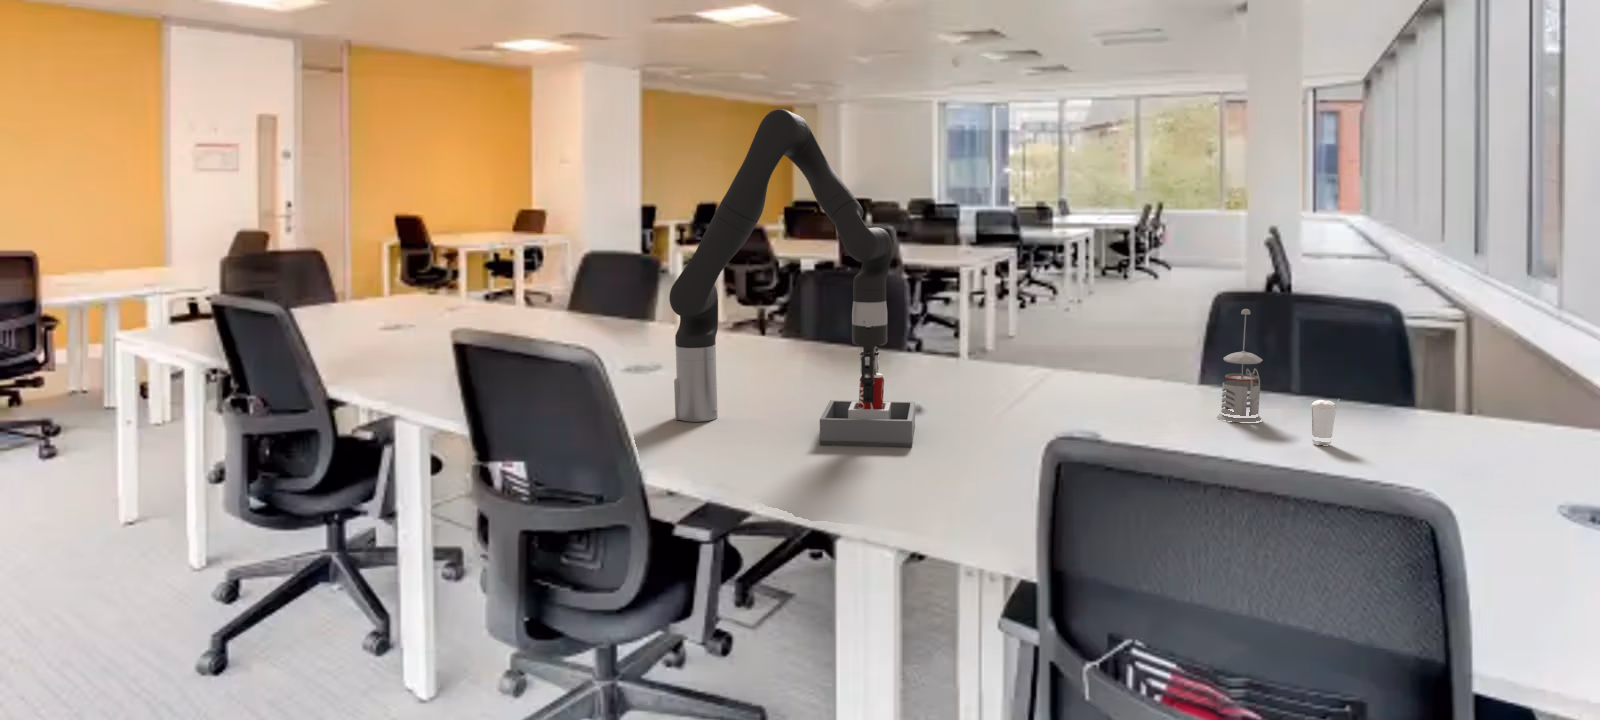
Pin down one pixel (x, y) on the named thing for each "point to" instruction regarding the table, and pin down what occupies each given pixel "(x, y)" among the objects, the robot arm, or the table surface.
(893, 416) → the box
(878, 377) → the soda can
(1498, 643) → the table surface
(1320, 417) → the milkshake
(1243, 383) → the french press
